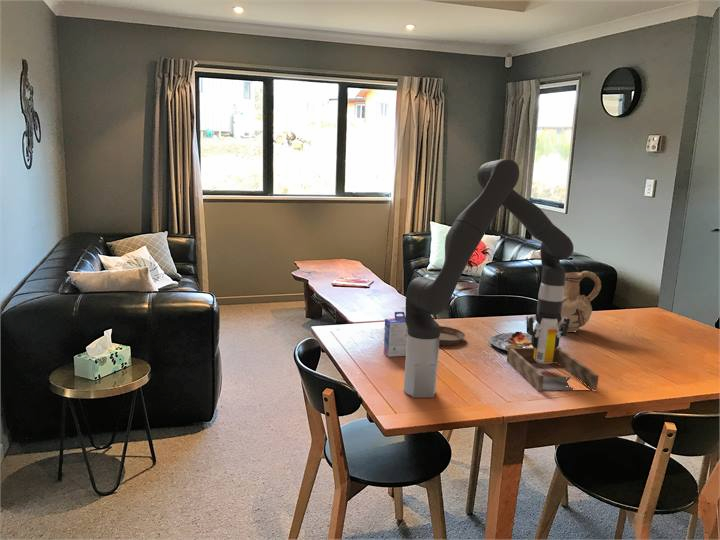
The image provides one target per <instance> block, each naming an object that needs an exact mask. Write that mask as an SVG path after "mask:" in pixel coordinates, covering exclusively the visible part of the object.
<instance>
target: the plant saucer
mask: <svg viewBox="0 0 720 540" xmlns="http://www.w3.org/2000/svg"><path fill="white" fill-rule="evenodd" d="M439 326H440V341H439V346H454V345H455V346H456V345H457V344H460V343H461V342H462V341H463V340H464V338H465V337H466V334H465V333H464V331H461V330H459V329H457V328H453V327H449V326H442V325H439Z"/></svg>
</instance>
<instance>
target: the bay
mask: <svg viewBox="0 0 720 540" xmlns="http://www.w3.org/2000/svg"><path fill="white" fill-rule="evenodd" d="M534 349H535V348H511V347H508V351H507V355H506V357H507V358H506V362H507V364H509V365H510V366H511V367H512V368H513V369H514V370H515V371H516V373H518V374H519V375H520V376H521V377H522V378H523V379H524V380H526V382H528V384H530V386H532V387H533V388H534V389H535V390H536V392H538V393H541V392H551V391H552V392H556V391H555V390H573V388H571V387H569V385H568V383H567V381H568V380H569V379H570V378H571V377H572V376H573V375H574V376H575V377H576V378H578V379H579V380H581V381H582V382H583V383H585V384H586V385H587V386H589V387H590V388H591V389H593V390H597V391H598V383H599V378H600V377H599V375H598V374H597V373H596V372H594V371H593V370H592V369H590V368H588V367H587V366H586V365H585V364H583V363H582V362H580V361H579V360H578V359H577V358H575V357H573V356H572V355H571V354H569V353H568V352H567V351H565V350H564V349H563V348H557V349H554V356H553V361H552V362H557V363H558V364H557V363H556V364H557V365H559V364H560V365H561V366H562V367H563V368H562V367H561V366H560V365H559V366H560V367H561V368H562V369H564V368H565V369H566V370H567V371H568V372H567V371H566V370H565V369H564V370H565V371H566V372H567V373H569V372H570V373H571V374H572V375H571V374H570V373H569V374H570V375H571V376H544V375H543V374H542V373H541V372H540V371H539V370H538V369H537V368H536V367H534V366H533V365H532V364H539V363H538V362H536V361H535V359H534V358H533V357H534ZM574 376H573V377H574ZM567 377H568V378H567ZM566 378H567V379H566ZM578 379H577V380H578ZM583 383H582V384H583ZM566 386H568V387H566Z"/></svg>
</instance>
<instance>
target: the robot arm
mask: <svg viewBox="0 0 720 540" xmlns="http://www.w3.org/2000/svg"><path fill="white" fill-rule="evenodd" d="M519 168H520V167H519V165H518V163H517V162H516V161H514V160H513V159H509V158H501V159H497V160H491V161H488V162H485V163H483V164H482V165H481V166H480V167H479V169H478V170H477V182H478V184H479V185H480V188H482V189H483V190H482V191H481V193H480V194H479V195H478V197H476V198H475V199H474V200H473V201H472V202H471V203H470V204H469V205H468V206H467V207H465V209H464V210H463V211H461V213H459V215H458V216H457V217H456V218H455V219H454V221H453V223H452V224H451V226H450V228H449V230H448V231H447V234H446V236H445V241H444V262H443V265H442V267H441V269H440V271H439V273H438V274H437V276H436V277H435V279H431V278H428V277H423V276H418V277H414V278H413V279H412V280H411V281H410V282H409V284H408V286H407V289H406V294H405V320H406V325H407V329H408V331H407V345H406V356H405V362H404V363H405V364H404V376H403V377H404V378H403V379H404V380H403V392H404V393H405V394H407V395H409V396H411V397H412V399H413V398H415V399H416V398H424V399H425V398H434V397H435V394H436V393H437V392H436V390H437V378H438V377H437V376H438V366H439V365H438V363H439V354H440V353H439V350H440V345H439V341H440V326H441V325H440V324H439V323H438V322H437V321H436V320H435V319H434V317H433V316H435V315H439V314H440V313H442V312H443V311H444V310H445V309H446V307H447V306H448V305H449V303H450V300H451V298H452V297H453V295H454V292H455V289H456V288H457V285H458V283H459V281H460V278H461V276H462V274H463V272H464V271H465V269H466V267H467V265H468V264H469V261H470V259H471V258H472V256H473V254H474V253H475V251H476V250H477V248H478V246H479V245H480V243H481V241H482V240H483V237H484V235H485V233H486V232H487V230H488V228H489V227H490V226H491V224H492V222H493V220H494V218H495V216H496V215H497V214H498V213H497V212H499V209H500V208H501V207H502V206H503V207H504V208H506V210H508V212H510V213H511V214H512V215H513V216H514V217H515V218H516V219H517V220H518V221H519V223H521V225H522V226H523V227H524V228H525V229H526V230H527V231H528V232H529V234H530V235H531V236H532V237H533V239H536V240H537V241H540V262H541V266H542V267H541V268H542V273H541V281H540V285H539V289H538V290H539V291H538V294H537V296H538V297H537V306H536V313H535V315H534V316H533V315H531V316H530V315H527V316H526V317H525V318H526V333H527V334H529V335H532V341H531V345H532V346H533V347H534V348H537V346H538V336H539V334H540V332H541V331H542V325H541V326H540V327H539V328H538V327H537V324H538V323H539V324H540V323H541V320H542V319H543V318H550V319H556V318H557V321H558V323H559V322H560V321H561V323H562V324H561V327H560V330H559V328H558V325H557V331H556V340H555V348H554V349H557V347H558V346H560V339H561V338H562V337H566V336H567V334H568V333H567V330H568V326H569V322H570V319H569V318H567V317H561V312H562V304H563V296H564V286H565V273H566V268H565V267H564V266H563V265H562V264H561V260H567V259H568V258H570V257H571V256H572V254H573V253H574V249H575V247H574V243H573V242H572V240H571V238H570V237H569V236H568V235H567V234H566V233H565V232H564V231H563V230H561V229H560V228H558V226H556V225H555V224H554V223H553V222H552V221H551V219H550V218H549V217H548V215H547V214H545V212H544V211H543V210H542V209H541V208H540V207H539V206H538V205H537V204H535V203H533V202H532V201H530V200H529V199H527V198H526V197H524V196H522V195H521V194H520V193H518V191H516V190H515V188H516V186H517V184H518V182H519V179H520V169H519ZM535 321H536V324H535ZM534 324H535V326H534Z"/></svg>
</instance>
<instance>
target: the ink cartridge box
mask: <svg viewBox="0 0 720 540" xmlns="http://www.w3.org/2000/svg"><path fill="white" fill-rule="evenodd" d="M405 315H406V313H405V311H394V318H384V335H383V336H384V337H383V338H384V339H383V353H384V355H385V356H387V357H388V358H391V357H404V356H405V357H406V345H407V331H408V329H407V325H406V320H405Z"/></svg>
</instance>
